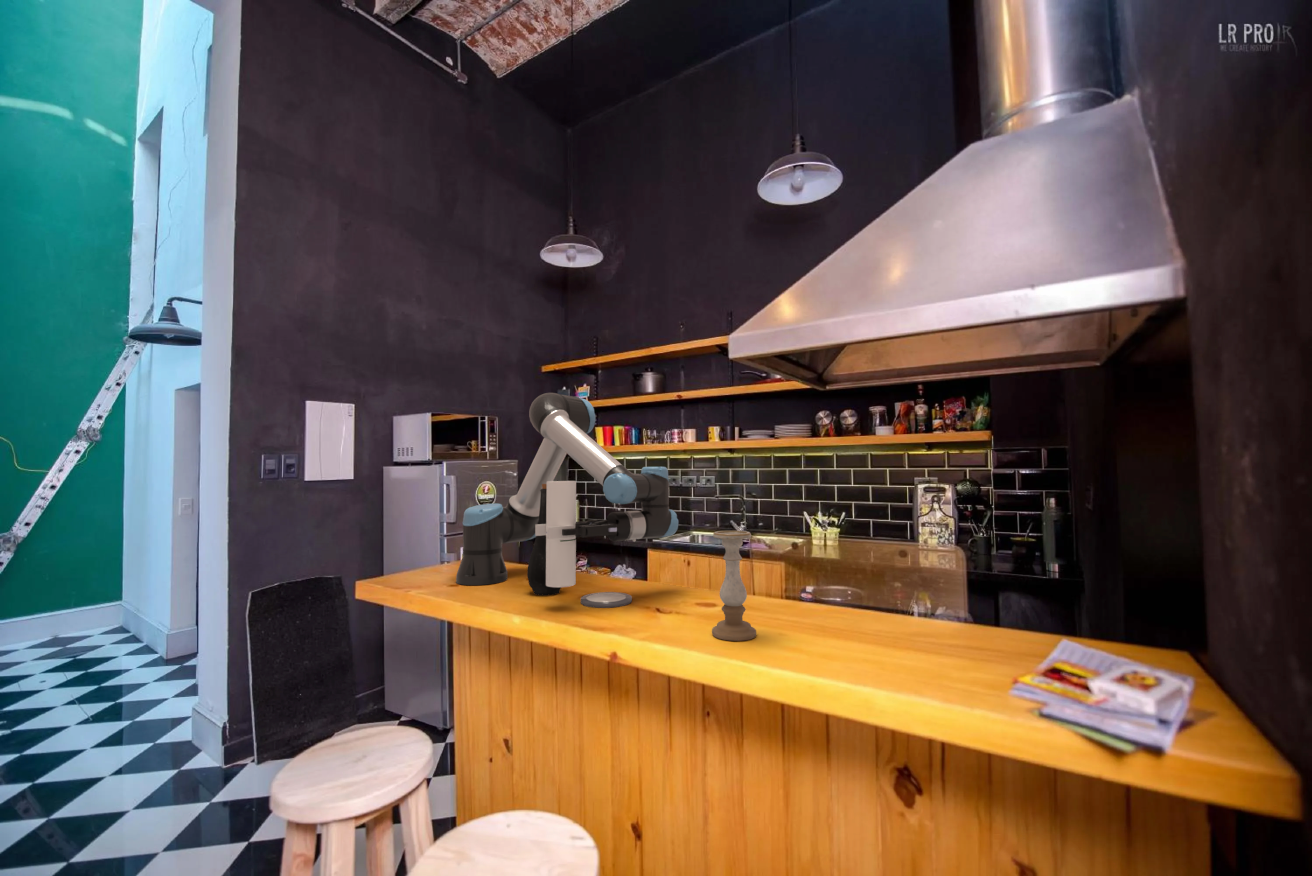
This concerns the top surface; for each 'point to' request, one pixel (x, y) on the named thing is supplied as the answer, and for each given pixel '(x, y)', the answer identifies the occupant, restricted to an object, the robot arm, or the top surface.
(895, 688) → the top surface
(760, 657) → the top surface
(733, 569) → the candle holder
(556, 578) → the cylindrical container
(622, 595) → the base plate
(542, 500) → the bottle
